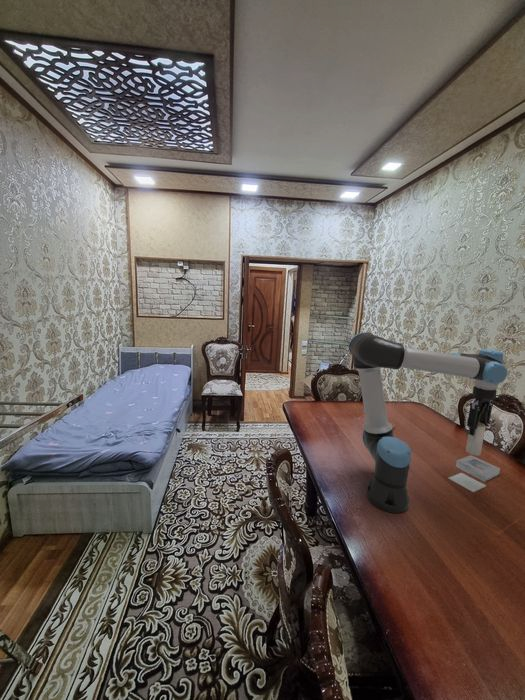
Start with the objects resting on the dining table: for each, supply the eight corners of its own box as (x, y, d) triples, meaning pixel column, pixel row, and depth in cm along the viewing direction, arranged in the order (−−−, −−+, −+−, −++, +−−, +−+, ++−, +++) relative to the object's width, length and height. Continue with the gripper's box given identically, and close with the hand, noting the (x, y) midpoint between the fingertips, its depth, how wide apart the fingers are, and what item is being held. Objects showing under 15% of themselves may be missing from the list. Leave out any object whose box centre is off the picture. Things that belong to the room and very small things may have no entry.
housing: (484, 481, 123) (486, 474, 122) (455, 467, 133) (456, 460, 133) (498, 475, 128) (500, 468, 128) (469, 461, 139) (471, 455, 138)
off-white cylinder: (476, 456, 116) (482, 426, 114) (463, 450, 121) (468, 421, 118) (482, 454, 118) (488, 424, 116) (469, 448, 123) (475, 420, 121)
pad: (473, 492, 115) (473, 491, 115) (448, 478, 124) (448, 477, 124) (486, 486, 120) (486, 485, 120) (461, 473, 129) (461, 472, 129)
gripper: (483, 392, 107) (473, 449, 111) (507, 388, 115) (496, 441, 119) (462, 387, 114) (453, 440, 118) (486, 383, 122) (476, 433, 126)
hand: (475, 440), depth 119 cm, fingers closed on off-white cylinder, 5 cm apart
